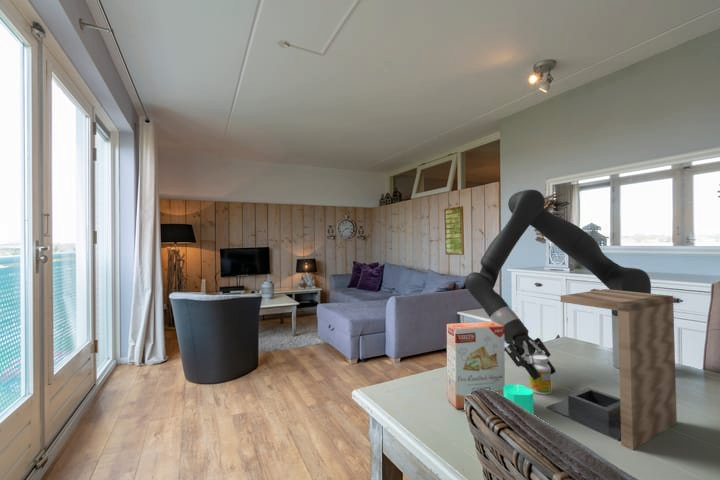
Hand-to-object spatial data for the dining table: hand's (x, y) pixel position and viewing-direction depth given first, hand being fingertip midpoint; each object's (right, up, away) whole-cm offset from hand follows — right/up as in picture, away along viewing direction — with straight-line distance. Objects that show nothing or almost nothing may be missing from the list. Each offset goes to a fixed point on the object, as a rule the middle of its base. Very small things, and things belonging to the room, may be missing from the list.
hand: (545, 375), depth 93 cm
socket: (+6, -5, -12) cm, 14 cm away
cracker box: (-21, -5, -5) cm, 22 cm away
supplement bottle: (-1, -5, +1) cm, 5 cm away
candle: (-17, -5, -21) cm, 28 cm away
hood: (+9, -4, -15) cm, 18 cm away
